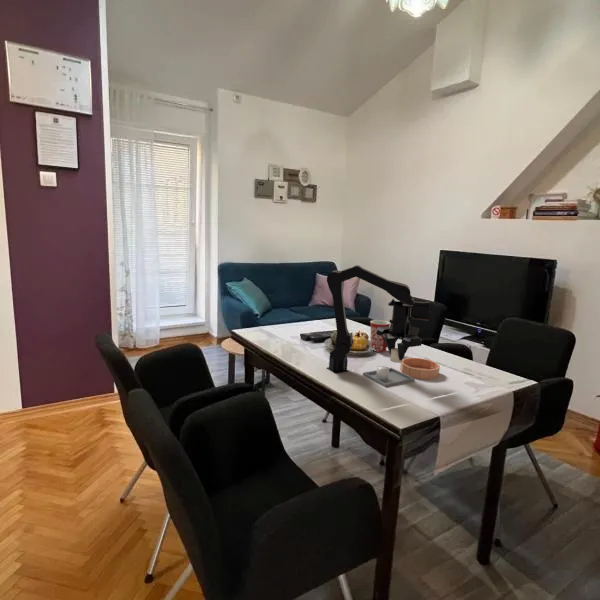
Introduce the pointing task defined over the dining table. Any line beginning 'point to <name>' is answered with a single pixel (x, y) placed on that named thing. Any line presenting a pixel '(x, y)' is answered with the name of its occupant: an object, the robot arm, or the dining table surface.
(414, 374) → the bowl
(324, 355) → the dining table surface
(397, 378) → the parts tray
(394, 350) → the pebble sand
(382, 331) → the robot arm
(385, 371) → the pebble grey
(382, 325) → the mug
